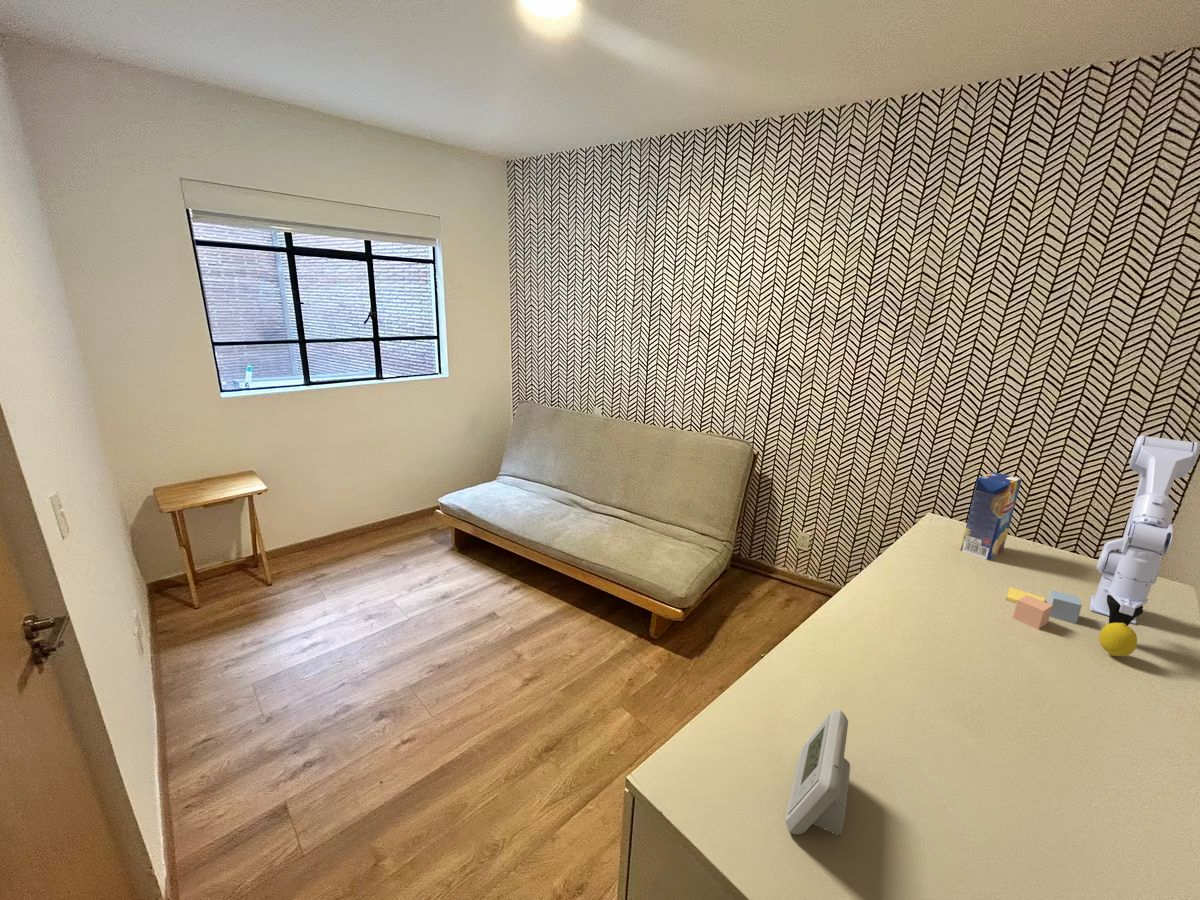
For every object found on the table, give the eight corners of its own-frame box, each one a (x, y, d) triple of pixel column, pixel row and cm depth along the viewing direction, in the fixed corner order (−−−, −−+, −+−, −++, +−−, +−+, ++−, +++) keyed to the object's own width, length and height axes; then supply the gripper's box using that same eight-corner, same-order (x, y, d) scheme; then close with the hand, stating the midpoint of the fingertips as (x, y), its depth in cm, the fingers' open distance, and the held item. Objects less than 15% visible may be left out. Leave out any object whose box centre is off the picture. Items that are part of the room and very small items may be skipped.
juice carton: (988, 560, 149) (1008, 485, 142) (960, 550, 154) (977, 477, 148) (1002, 550, 155) (1022, 478, 149) (975, 541, 161) (992, 471, 155)
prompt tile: (1009, 589, 132) (1010, 587, 132) (1043, 600, 128) (1044, 597, 127) (1005, 599, 128) (1006, 596, 127) (1041, 611, 123) (1042, 608, 123)
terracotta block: (1021, 612, 122) (1027, 595, 121) (1047, 623, 118) (1052, 605, 117) (1012, 618, 120) (1017, 600, 118) (1038, 629, 115) (1043, 610, 114)
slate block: (1045, 607, 125) (1050, 589, 124) (1072, 614, 122) (1077, 596, 121) (1048, 616, 121) (1053, 598, 120) (1075, 623, 118) (1081, 605, 117)
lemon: (1137, 666, 104) (1150, 633, 102) (1107, 662, 105) (1118, 629, 103) (1117, 649, 109) (1128, 617, 107) (1087, 645, 110) (1098, 614, 108)
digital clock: (804, 747, 82) (814, 693, 79) (864, 781, 76) (876, 724, 73) (762, 817, 70) (771, 757, 67) (829, 864, 64) (841, 800, 61)
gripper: (1108, 558, 116) (1091, 610, 119) (1108, 580, 106) (1090, 635, 110) (1152, 570, 111) (1133, 622, 115) (1156, 593, 101) (1135, 650, 105)
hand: (1115, 629), depth 112 cm, fingers closed
